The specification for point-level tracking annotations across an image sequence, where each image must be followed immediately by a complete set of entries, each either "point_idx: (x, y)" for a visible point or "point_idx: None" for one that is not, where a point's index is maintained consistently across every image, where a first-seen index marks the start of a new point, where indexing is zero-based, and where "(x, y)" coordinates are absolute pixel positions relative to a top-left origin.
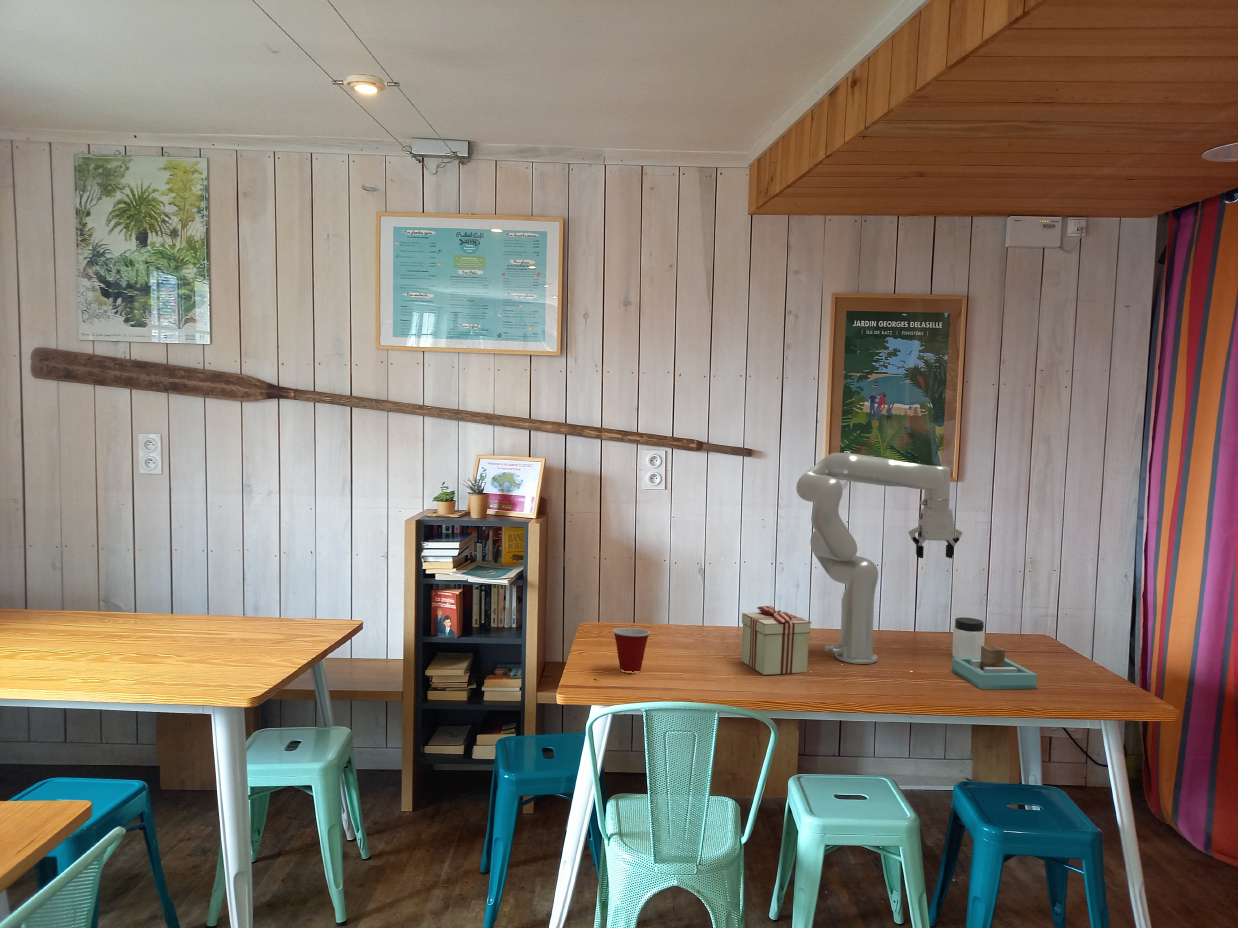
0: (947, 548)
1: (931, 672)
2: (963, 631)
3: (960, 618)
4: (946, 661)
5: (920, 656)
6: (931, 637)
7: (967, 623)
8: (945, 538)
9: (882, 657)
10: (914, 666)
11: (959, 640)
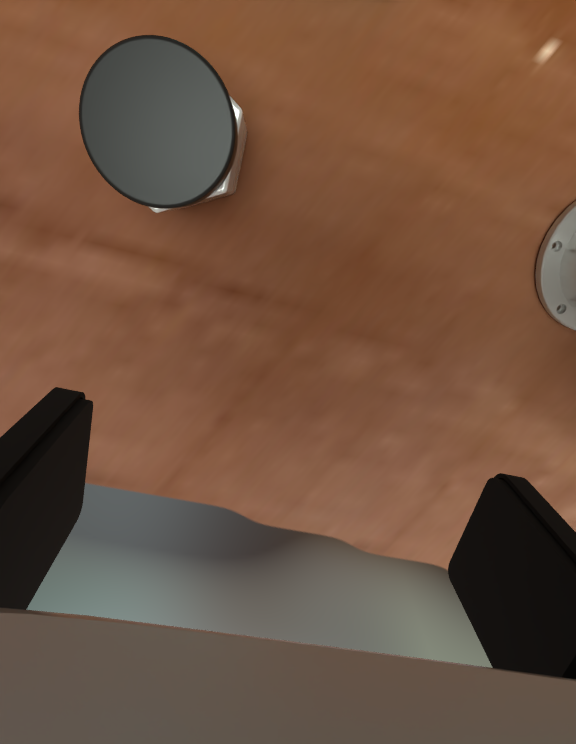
0: (22, 574)
1: (485, 7)
2: (231, 98)
3: (181, 182)
4: (311, 132)
5: (361, 222)
6: (145, 425)
7: (214, 69)
8: (162, 667)
9: (506, 248)
10: (484, 107)
11: (244, 124)
